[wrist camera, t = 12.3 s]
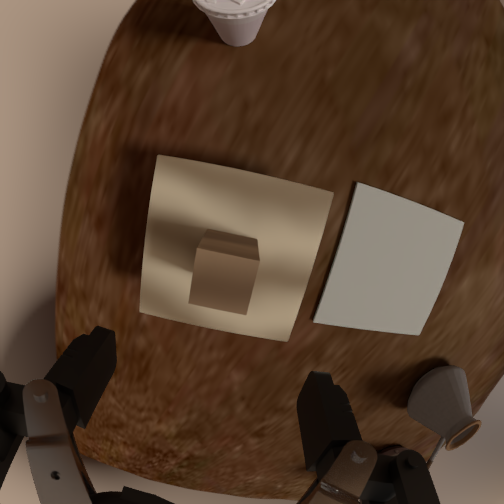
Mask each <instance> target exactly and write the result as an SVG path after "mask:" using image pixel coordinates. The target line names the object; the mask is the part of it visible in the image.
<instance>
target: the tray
mask: <svg viewBox="0 0 504 504" xmlns="http://www.w3.org/2000/svg"><path fill="white" fill-rule="evenodd" d="M463 225H464V222H461V221H459V220H457V219H455V218H452V217H450V216H448V215H445V214H443V213H440V212H438V211H436V210H433V209H431V208H428V207H426V206H423V205H421V204H418V203H415V202H413V201H410V200H407V199H405V198H402V197H399V196H397V195H394V194H391V193H388V192H385V191H383V190H380V189H377V188H374V187H371V186H368V185H365V184H362V183H359V182H356V186H355V190H354V193H353V197H352V201H351V204H350V208H349V211H348V215H347V218H346V222H345V225H344V229H343V232H342V235H341V239H340V242H339V245H338V248H337V251H336V255H335V258H334V261H333V264H332V267H331V270H330V273H329V276H328V279H327V282H326V285H325V288H324V291H323V293H322V296H321V299H320V302H319V305H318V307H317V310H316V313H315V316H314V318H313V322H315V323H322V324H329V325H336V326H343V327H350V328H358V329H366V330H374V331H383V332H392V333H401V334H411V335H419V334H420V332H421V330H422V328H423V326H424V324H425V322H426V320H427V318H428V316H429V314H430V312H431V310H432V308H433V305H434V303H435V301H436V299H437V296H438V294H439V292H440V289H441V287H442V284H443V282H444V280H445V277H446V274H447V272H448V269H449V267H450V264H451V261H452V258H453V256H454V253H455V250H456V247H457V244H458V241H459V238H460V235H461V232H462V228H463Z"/></svg>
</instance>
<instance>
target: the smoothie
mask: <svg viewBox="0 0 504 504" xmlns="http://www.w3.org/2000/svg"><path fill="white" fill-rule="evenodd" d="M275 1H276V0H193V2H194V4H195V5H196V6H197V7H198V8H199V10H201V11H203V12H204V13H206V15H207V16H208V18H209V20H210V21H211V23H212V24H213V26H214V28H215V29H216V31H217V32H218V34H219V36H220V37H221V39H222V40H223V41H224V42H225V43H226V44H228V45H231V46H244V45H247V44H249V43H251V42H252V41H253V40H254V39H255V37H256V35H257V32H258V30H259V28H260V25H261V23H262V21H263V19H264V16H265V14H266V12H267V10H268V8H269V7H271V6H272V5H273V3H274V2H275Z"/></svg>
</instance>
